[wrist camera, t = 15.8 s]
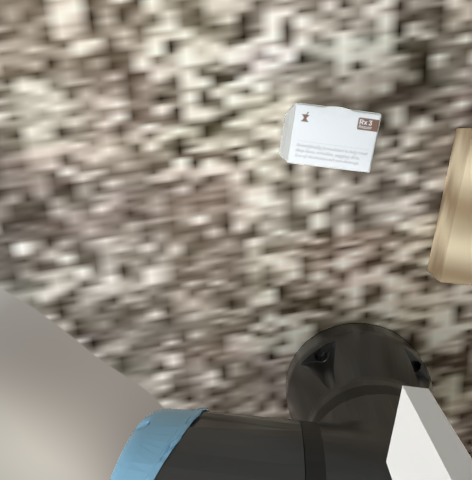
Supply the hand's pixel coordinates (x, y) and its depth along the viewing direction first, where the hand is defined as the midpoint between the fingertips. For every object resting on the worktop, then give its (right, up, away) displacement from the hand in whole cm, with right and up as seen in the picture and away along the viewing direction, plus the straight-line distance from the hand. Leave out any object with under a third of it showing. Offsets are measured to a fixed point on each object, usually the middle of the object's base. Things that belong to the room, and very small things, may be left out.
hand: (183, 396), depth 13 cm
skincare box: (+9, +15, +28) cm, 32 cm away
